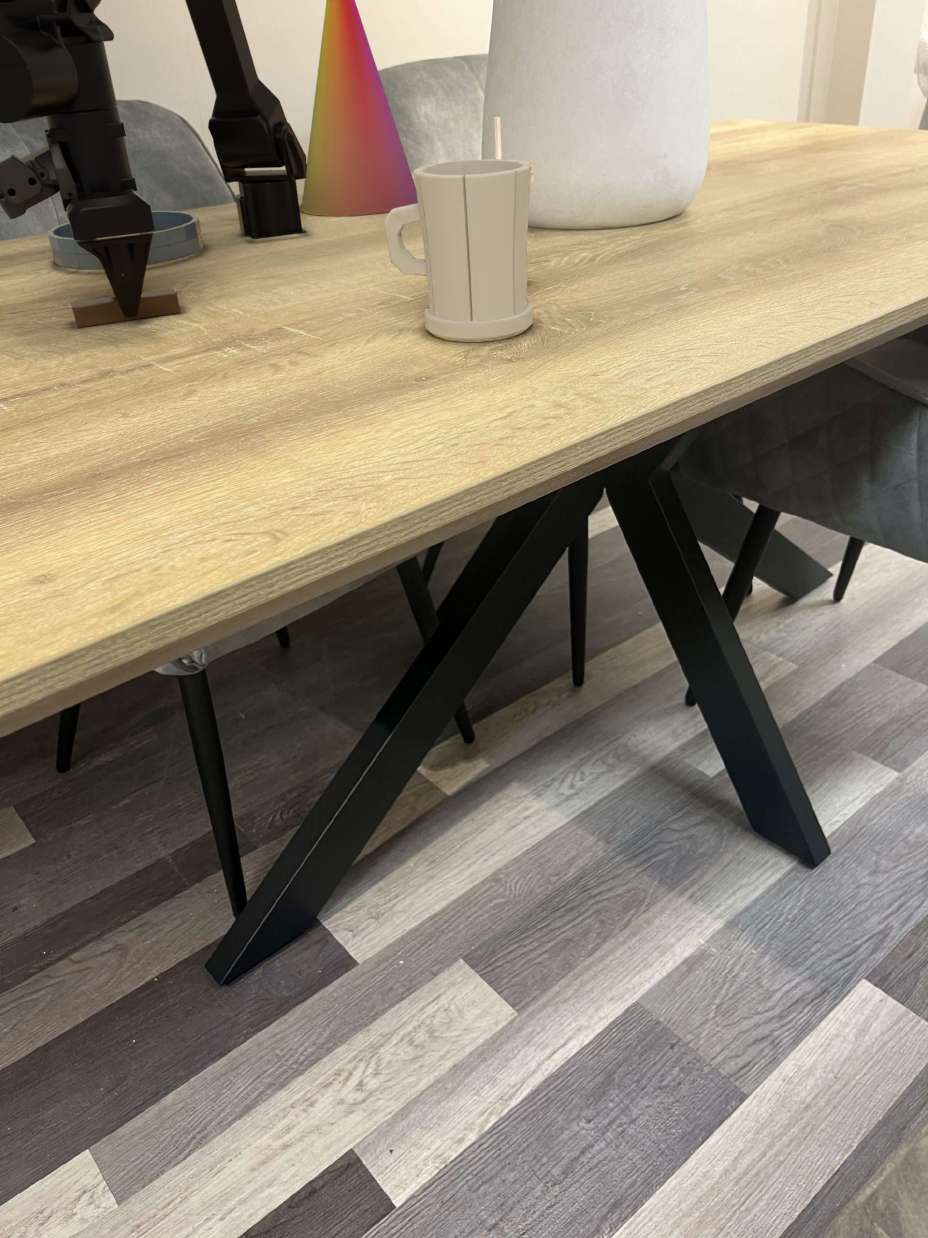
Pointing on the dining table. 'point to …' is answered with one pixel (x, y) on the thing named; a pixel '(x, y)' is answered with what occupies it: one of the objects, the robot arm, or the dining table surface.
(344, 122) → the decorative cone
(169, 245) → the bowl
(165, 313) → the stick
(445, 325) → the cup
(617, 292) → the dining table surface
